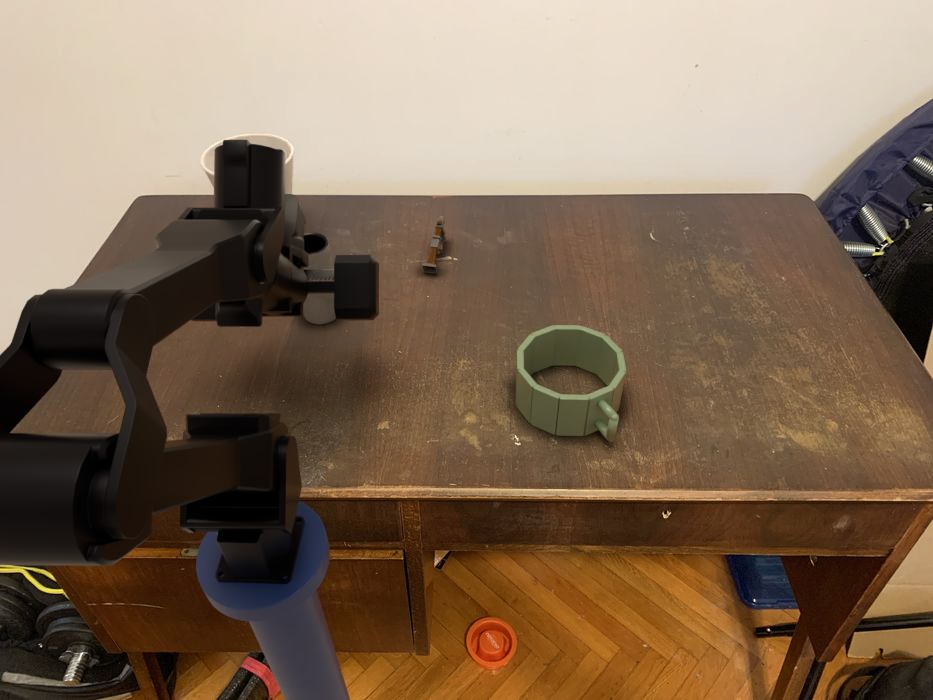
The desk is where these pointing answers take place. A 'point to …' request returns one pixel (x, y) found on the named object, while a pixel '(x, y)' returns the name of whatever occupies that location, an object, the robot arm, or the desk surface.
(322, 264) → the grey hollow cylinder
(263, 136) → the cup
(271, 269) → the robot arm
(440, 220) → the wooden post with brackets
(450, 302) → the desk surface
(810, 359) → the desk surface
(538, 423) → the mug
